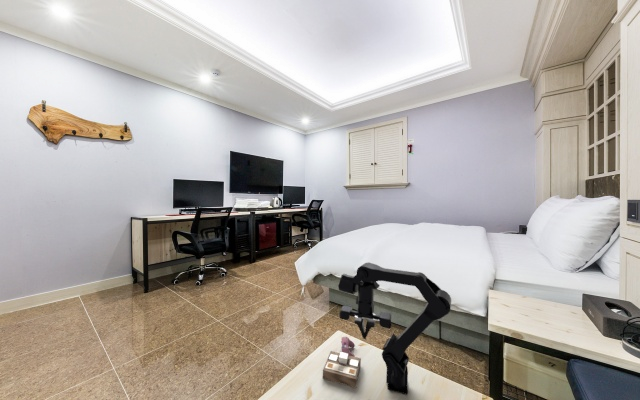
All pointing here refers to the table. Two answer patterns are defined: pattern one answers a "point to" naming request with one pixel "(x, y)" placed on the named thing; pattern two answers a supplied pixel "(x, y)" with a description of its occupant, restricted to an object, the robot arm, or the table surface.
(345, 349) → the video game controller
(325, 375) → the keypad
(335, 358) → the key
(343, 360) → the key middle
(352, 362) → the key
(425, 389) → the table surface
